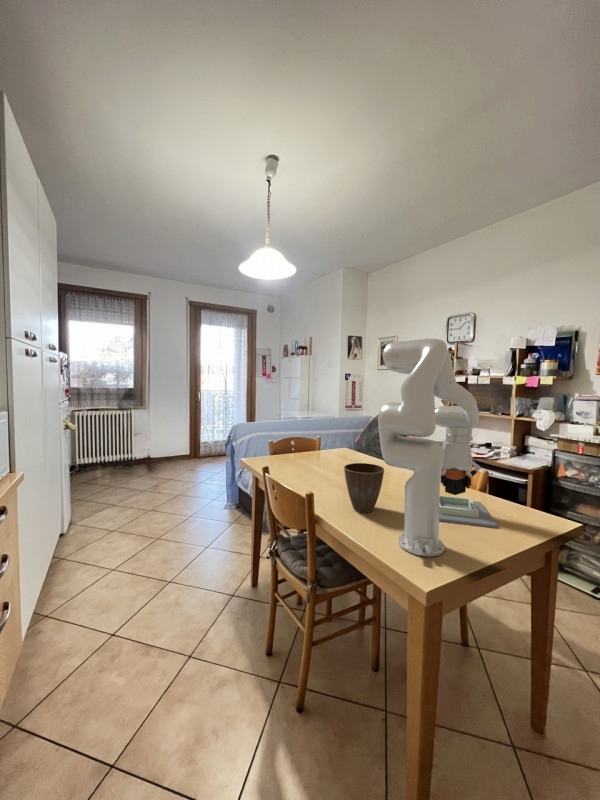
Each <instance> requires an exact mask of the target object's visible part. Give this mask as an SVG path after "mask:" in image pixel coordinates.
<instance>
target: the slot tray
mask: <svg viewBox="0 0 600 800" xmlns="http://www.w3.org/2000/svg"><path fill="white" fill-rule="evenodd" d="M442 521H444V522H443V523H450V522H451V523H452V524H458V523H459V525H461V524H462V525H467V526H476V527H477V526H478V527H485V528H492V529H498V524H497V522H496V521H495V520H494V518H493V517H492V516H491V514H490V513H489V511H488V510H487V509H486V508H485V506H484V505H483V503H482V502H481V501H475V500H472V498H470V497H459V496H450V495H442V494H440V505H439V522H442Z"/></svg>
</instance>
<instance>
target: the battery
mask: <svg viewBox="0 0 600 800" xmlns="http://www.w3.org/2000/svg"><path fill="white" fill-rule="evenodd" d="M453 468H454V467H453ZM445 476H446V486H444V492H445V493H448V494H451V495H454V496H457V495H460V494H464V493H466V491H467V487H466V476H467V473H466V471H461V470H456V469H446V473H445Z"/></svg>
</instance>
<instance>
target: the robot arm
mask: <svg viewBox="0 0 600 800" xmlns="http://www.w3.org/2000/svg"><path fill="white" fill-rule="evenodd" d="M447 346H448V345H447V343H446V342H445V341H444V340H442V339H439V338H423V339H421V338H420V339H412V340H411V339H410V340H402V341H401V340H400V341H394V342H391V343H389V344H387V345H386V346H385V347H384V350H383V353H382V360H383V363H384V365H385V367H386V368H387V369H388V370H389V371H391V372H394V373H399V374H404V375H407V376H406V378H405V379H404V381H403V382H402V385H401V388H400V396H401V402H396V401H395V402H387V403H385V404H384V405H382V406H381V408H380V409H379V412H378V419H377V424H378V433H379V434H378V435H379V440H380V441H379V442H380V450H381V455H382V456H381V457H382V459H383V461H384V463H385V464H386V465H388V466H390V467H394V468H399V469H404V470H405V469H406V470H409V471H413V474H412V475H411V476H410V477H409V478H408V479H407V481H406V482H405V485H404V512H403V513H404V514H403V515H404V516H403V518H404V519H403V520H404V522H403V524H404V525H403V533H402V534H400V536H399V537H398V544H399V546H400V547H401V548H402V549H403V550H405V551H406V552H408V553H410V554H413V555H416V556H420V557H439V556H440V555H442V554H444V552H445V544H444V542H443V541H441V539H439V536H440V521H439V505H440V495H441V484H442V486H443V487H445V486H446V476H445V473H446V469H456V470H461V471H466V489H470V486H472V478H473V477H474V476H476V474H477V473H478V472H479V471H480V470H481V469H482V467H481V466H480V465H479V464H477V462H475V461H474V460H473V457H472V455H473V454H472V448H471V443H469V441H473V440H474V438H473V436H470V435H469V430H472V429H473V430H474V429H475V428H477V426H479V425H478V424H479V421H480V412H479V409H478V403H477V400H476V398H475V397H474V395H473V394H472V393H471V392H469V391H468V390H467V389H466V388H465V387H464V386H462V385H460V384H459V383H458V382H457V380H456V376H455V371H454V367H453V363H452V359H451V355H450V352H449V350H448V347H447ZM435 397H436V399H437V398H438V399H440V400H442V401H446V402H448V403H452V404H453V405H449V406H448V405H442V406H438V407H436V406H435V405H436V402H435ZM437 427H441V428H445V441H443V442H442V444H441V443H439V442H438V441H436V440H433V439H428V438H427V437H430V436H432V435H434V433H435V431H436V428H437ZM453 467H454V468H453ZM473 467H474V468H473ZM472 468H473V469H472Z"/></svg>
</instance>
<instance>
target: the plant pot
mask: <svg viewBox="0 0 600 800" xmlns="http://www.w3.org/2000/svg"><path fill="white" fill-rule="evenodd" d="M343 469H344V471H343V472H344V477H345V482H346V487H347V491H348V492H347V493H348V495H349V499H350V502H351V505H352V506H351V507H352V508H353V510H355V511H356V512H358V513H365V514H366V513H367V514H369V513H372V512H373V511H374V510H375V506H376V504H377V501H378V499H379V496H380V493H381V489H382V483H383V479H384V472H385V468H384V466H381V465H377V464H374V463H366V462H365V463H364V462H354V463H348V464H345V465H344V467H343Z"/></svg>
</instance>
